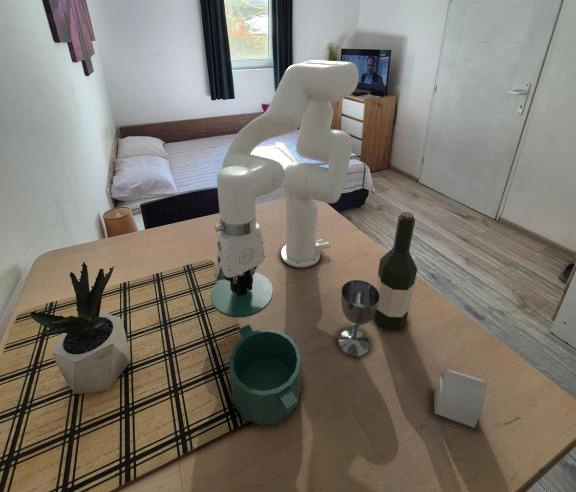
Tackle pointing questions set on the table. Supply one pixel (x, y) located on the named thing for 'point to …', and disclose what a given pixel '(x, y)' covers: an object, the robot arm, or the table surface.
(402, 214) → the wine bottle
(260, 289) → the lid
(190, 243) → the table surface
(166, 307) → the table surface
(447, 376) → the white box
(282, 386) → the pot
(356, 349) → the wine glass
